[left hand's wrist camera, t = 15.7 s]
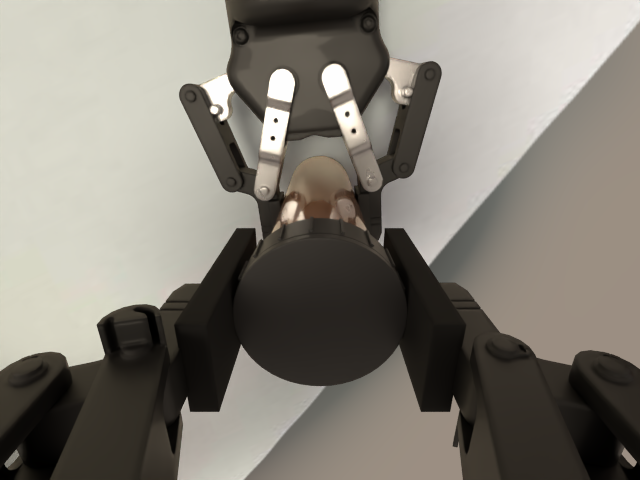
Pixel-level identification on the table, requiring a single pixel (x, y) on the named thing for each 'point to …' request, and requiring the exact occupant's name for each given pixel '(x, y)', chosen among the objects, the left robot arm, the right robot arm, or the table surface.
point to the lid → (320, 303)
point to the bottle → (320, 194)
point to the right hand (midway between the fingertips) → (324, 247)
